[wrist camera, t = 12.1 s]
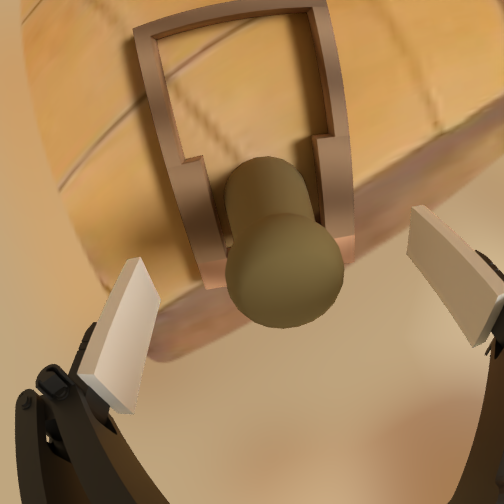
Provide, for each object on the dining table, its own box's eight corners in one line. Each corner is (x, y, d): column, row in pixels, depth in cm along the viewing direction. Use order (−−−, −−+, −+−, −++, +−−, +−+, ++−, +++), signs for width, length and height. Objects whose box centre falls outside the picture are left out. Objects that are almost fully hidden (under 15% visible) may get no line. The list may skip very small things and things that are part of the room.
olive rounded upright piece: (223, 233, 22) (215, 348, 12) (224, 154, 19) (210, 227, 9) (301, 235, 22) (343, 344, 13) (311, 159, 19) (381, 232, 10)
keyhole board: (139, 32, 13) (132, 28, 12) (318, 0, 13) (324, -6, 12) (207, 278, 24) (206, 289, 23) (348, 252, 23) (354, 262, 22)
